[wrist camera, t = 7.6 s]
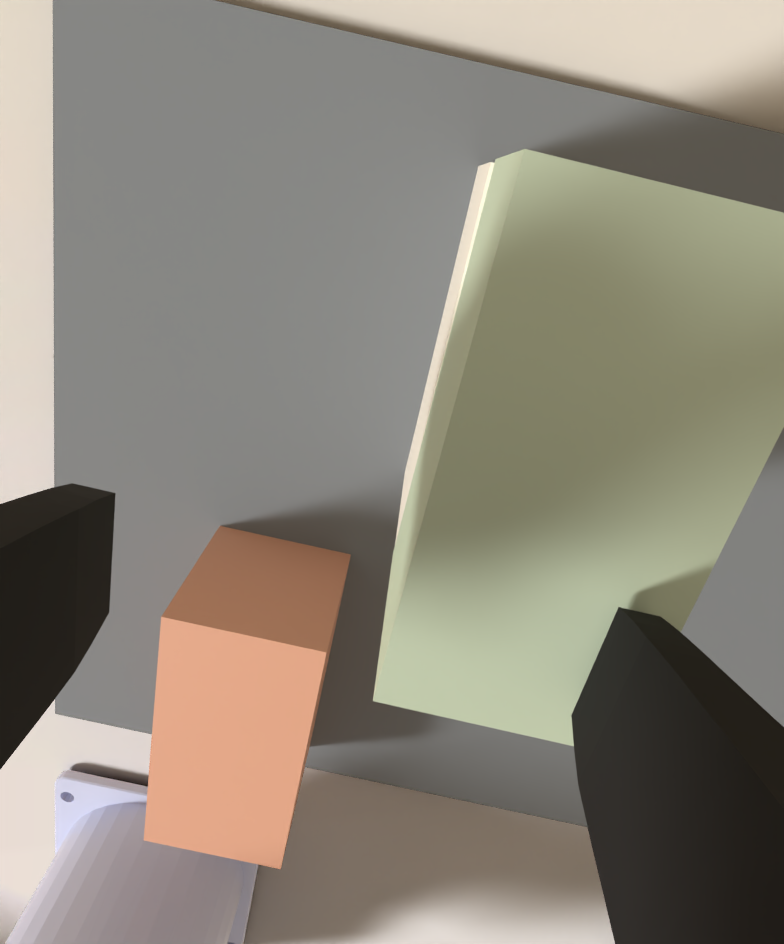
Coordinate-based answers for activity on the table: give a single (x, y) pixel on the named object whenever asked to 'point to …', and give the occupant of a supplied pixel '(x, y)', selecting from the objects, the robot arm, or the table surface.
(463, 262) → the cream brick
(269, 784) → the terracotta brick
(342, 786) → the table surface
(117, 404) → the mat
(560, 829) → the table surface
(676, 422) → the green brick
